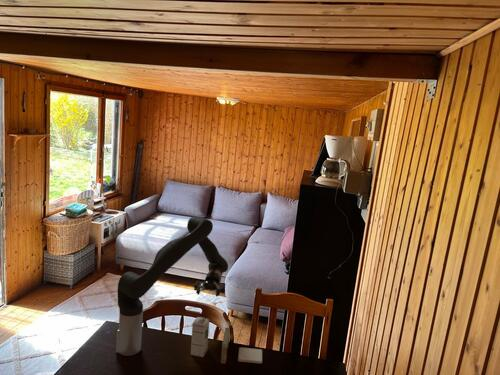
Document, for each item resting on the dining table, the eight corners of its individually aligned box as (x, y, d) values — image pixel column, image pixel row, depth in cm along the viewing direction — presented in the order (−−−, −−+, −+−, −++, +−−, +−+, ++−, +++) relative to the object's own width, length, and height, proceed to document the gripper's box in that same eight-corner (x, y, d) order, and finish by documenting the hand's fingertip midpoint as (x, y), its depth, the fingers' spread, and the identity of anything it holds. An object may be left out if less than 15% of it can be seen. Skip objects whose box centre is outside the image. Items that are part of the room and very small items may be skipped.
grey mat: (238, 361, 149) (238, 359, 149) (239, 349, 157) (239, 347, 157) (261, 363, 149) (262, 361, 149) (261, 351, 157) (262, 349, 157)
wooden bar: (222, 347, 146) (222, 343, 146) (225, 330, 158) (225, 327, 158) (226, 347, 146) (227, 344, 146) (229, 331, 158) (229, 328, 158)
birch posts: (220, 363, 147) (222, 347, 146) (223, 345, 159) (225, 330, 158) (225, 363, 146) (226, 347, 146) (228, 345, 159) (229, 331, 158)
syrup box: (203, 357, 149) (205, 325, 147) (190, 354, 150) (192, 322, 148) (207, 350, 155) (210, 318, 153) (194, 347, 156) (197, 316, 154)
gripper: (199, 270, 177) (192, 284, 161) (227, 273, 176) (223, 287, 160) (198, 284, 178) (191, 299, 162) (226, 287, 177) (222, 303, 161)
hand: (207, 293), depth 161 cm, fingers open, 8 cm apart
